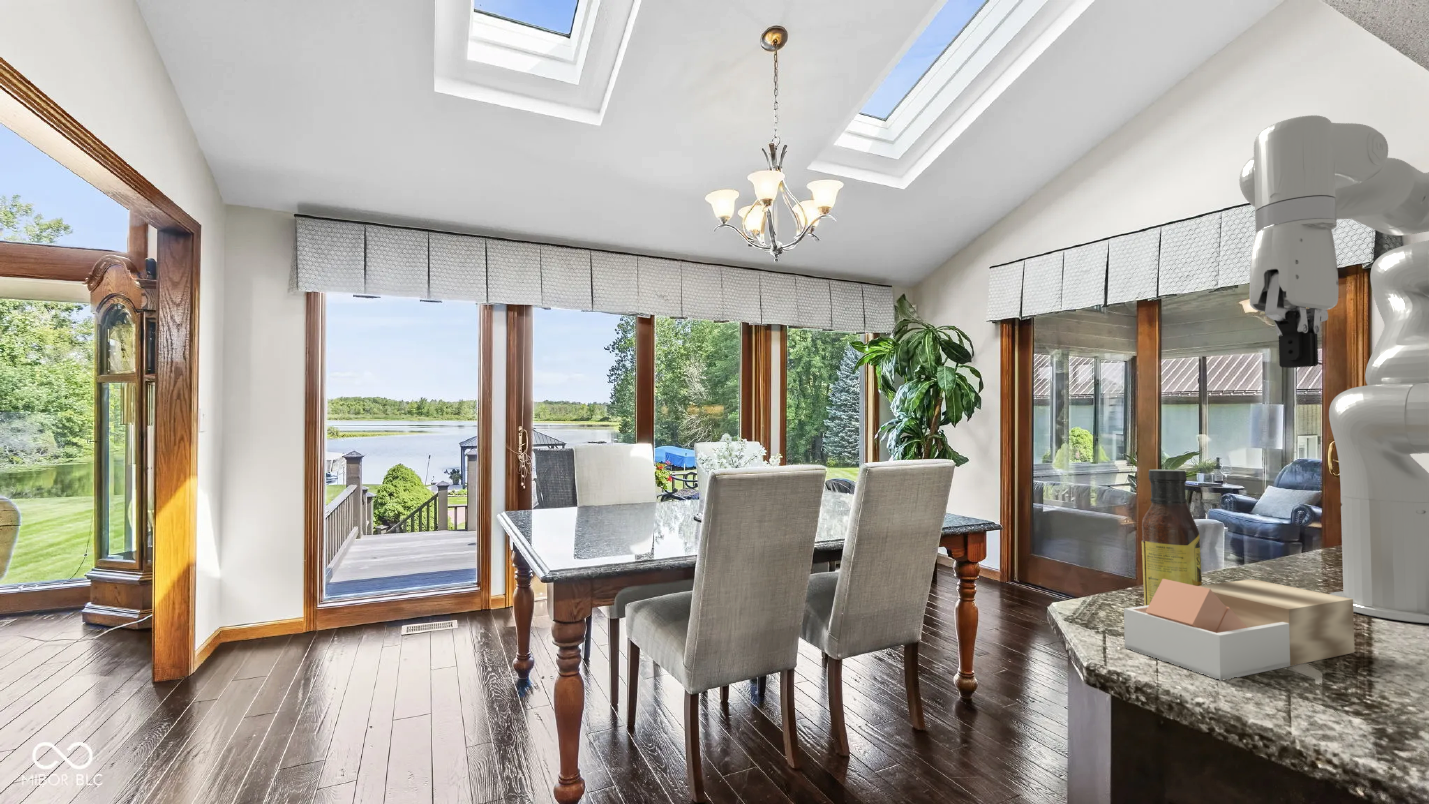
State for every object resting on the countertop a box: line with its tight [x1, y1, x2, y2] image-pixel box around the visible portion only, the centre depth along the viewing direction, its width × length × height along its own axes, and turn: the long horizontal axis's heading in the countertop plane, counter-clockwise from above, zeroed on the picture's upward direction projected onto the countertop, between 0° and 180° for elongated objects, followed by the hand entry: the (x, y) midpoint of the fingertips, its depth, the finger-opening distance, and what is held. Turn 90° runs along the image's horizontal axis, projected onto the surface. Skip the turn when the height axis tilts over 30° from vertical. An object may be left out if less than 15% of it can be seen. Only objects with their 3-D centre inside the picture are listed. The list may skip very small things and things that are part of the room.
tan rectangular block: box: [1199, 578, 1356, 667], centre depth 75 cm, size 12×10×6 cm
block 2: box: [1216, 607, 1247, 633], centre depth 71 cm, size 4×5×4 cm
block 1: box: [1146, 579, 1227, 633], centre depth 70 cm, size 4×5×4 cm
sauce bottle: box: [1141, 468, 1203, 606], centre depth 83 cm, size 6×6×20 cm
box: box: [1123, 605, 1291, 681], centre depth 71 cm, size 12×10×4 cm
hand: (1298, 366), depth 79 cm, fingers closed
